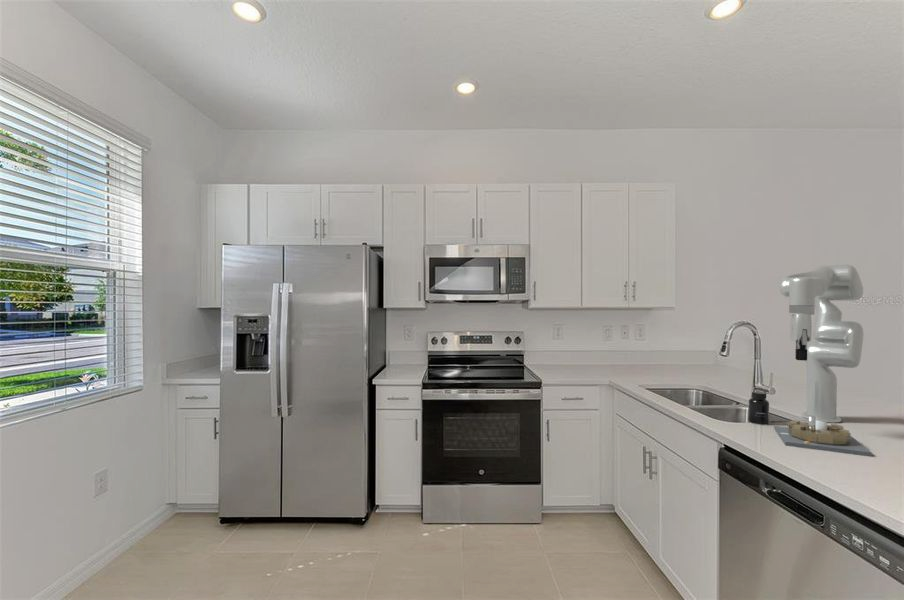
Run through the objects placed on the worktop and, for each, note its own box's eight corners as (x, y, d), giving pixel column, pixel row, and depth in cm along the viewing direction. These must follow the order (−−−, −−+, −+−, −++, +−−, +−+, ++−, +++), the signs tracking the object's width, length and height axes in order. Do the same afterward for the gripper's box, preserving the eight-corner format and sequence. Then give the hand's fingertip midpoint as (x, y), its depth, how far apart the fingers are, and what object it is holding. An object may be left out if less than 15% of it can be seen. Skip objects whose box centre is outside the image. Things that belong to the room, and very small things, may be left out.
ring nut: (781, 434, 158) (781, 412, 158) (800, 428, 167) (800, 406, 167) (839, 447, 145) (839, 422, 145) (856, 439, 154) (856, 415, 154)
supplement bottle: (759, 425, 175) (759, 394, 175) (743, 420, 182) (744, 391, 182) (773, 424, 177) (773, 393, 177) (757, 419, 184) (757, 390, 184)
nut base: (774, 429, 171) (774, 410, 171) (849, 437, 160) (849, 418, 160) (785, 445, 151) (785, 424, 151) (871, 456, 141) (872, 434, 141)
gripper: (785, 309, 175) (784, 357, 175) (793, 310, 162) (793, 362, 162) (809, 310, 172) (809, 358, 172) (819, 311, 158) (819, 363, 159)
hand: (801, 360), depth 167 cm, fingers closed
